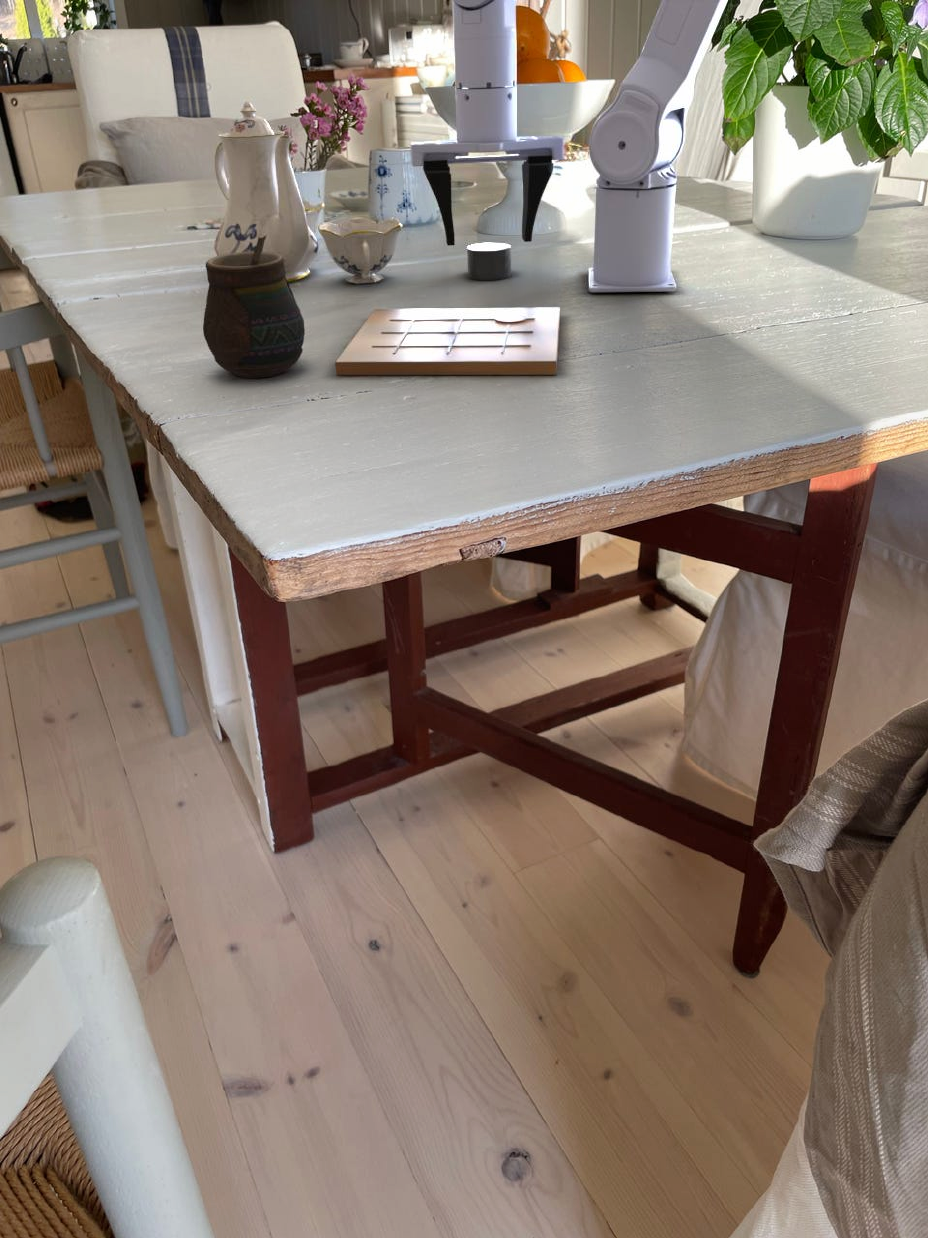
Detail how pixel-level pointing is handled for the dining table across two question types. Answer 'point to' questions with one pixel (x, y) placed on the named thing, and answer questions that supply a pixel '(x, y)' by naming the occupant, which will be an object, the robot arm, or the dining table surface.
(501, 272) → the short grey cylinder
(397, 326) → the board
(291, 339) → the mate gourd
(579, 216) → the dining table surface
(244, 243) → the chinaware
